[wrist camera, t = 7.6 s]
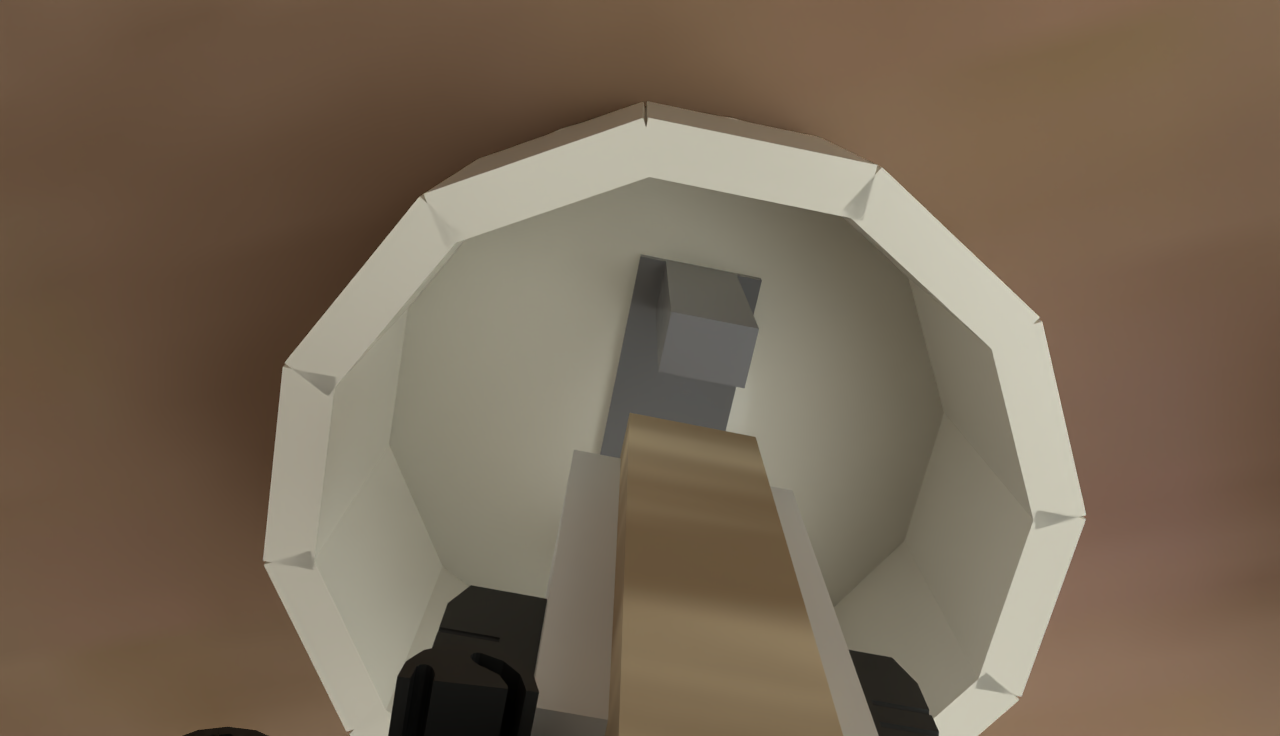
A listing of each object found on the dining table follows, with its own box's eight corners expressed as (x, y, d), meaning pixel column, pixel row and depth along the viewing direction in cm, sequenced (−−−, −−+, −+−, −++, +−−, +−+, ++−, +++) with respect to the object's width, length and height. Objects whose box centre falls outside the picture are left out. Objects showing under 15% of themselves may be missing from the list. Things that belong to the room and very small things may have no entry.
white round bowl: (406, 49, 19) (315, 48, 14) (1044, 182, 20) (1190, 230, 15) (333, 624, 23) (238, 798, 18) (874, 719, 24) (941, 914, 18)
